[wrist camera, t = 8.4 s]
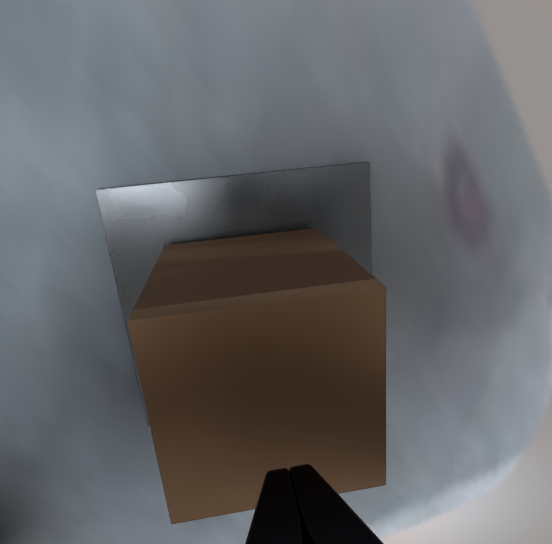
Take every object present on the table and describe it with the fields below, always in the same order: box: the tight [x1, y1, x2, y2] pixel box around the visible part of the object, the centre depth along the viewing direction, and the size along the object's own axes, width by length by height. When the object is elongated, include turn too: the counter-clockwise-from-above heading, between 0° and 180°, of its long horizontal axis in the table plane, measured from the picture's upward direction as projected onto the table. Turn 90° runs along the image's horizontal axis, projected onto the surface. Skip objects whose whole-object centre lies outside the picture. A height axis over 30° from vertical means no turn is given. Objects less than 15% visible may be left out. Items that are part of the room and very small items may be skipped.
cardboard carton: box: [127, 228, 386, 524], centre depth 13 cm, size 6×6×7 cm
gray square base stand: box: [96, 162, 371, 426], centre depth 14 cm, size 10×10×7 cm
